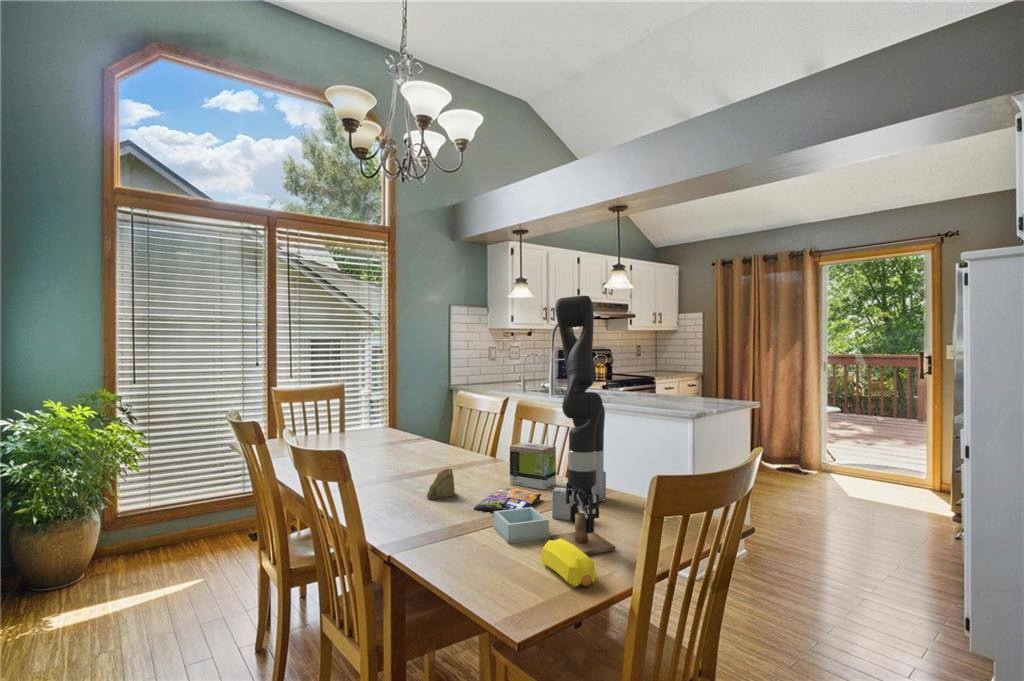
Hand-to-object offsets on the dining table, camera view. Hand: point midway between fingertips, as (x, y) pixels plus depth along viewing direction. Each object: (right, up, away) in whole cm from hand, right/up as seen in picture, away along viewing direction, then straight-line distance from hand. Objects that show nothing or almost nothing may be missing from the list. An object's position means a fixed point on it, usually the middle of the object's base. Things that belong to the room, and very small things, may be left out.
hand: (581, 527), depth 143 cm
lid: (0, -5, 0) cm, 4 cm away
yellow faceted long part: (-5, -6, -17) cm, 18 cm away
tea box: (-11, -5, +59) cm, 60 cm away
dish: (-16, -5, +9) cm, 19 cm away
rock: (-43, -5, +43) cm, 62 cm away
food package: (-21, -6, +34) cm, 40 cm away
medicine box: (-2, -5, +22) cm, 22 cm away
